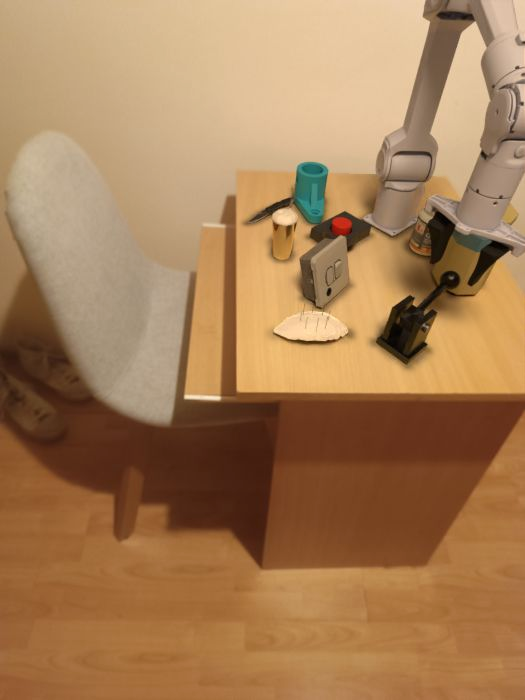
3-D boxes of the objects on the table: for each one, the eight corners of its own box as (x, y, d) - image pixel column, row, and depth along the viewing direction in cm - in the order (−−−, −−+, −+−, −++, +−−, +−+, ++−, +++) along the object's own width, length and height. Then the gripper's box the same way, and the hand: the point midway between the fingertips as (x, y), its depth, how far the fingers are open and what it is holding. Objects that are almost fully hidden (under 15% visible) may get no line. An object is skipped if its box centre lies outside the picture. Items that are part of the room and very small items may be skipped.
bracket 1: (320, 192, 103) (325, 161, 98) (331, 223, 95) (337, 191, 90) (291, 193, 102) (294, 161, 97) (299, 223, 95) (303, 191, 89)
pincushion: (274, 348, 72) (277, 321, 67) (272, 320, 76) (274, 293, 71) (351, 347, 72) (358, 321, 68) (344, 319, 76) (351, 293, 72)
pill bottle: (421, 260, 88) (438, 213, 81) (402, 243, 92) (417, 198, 84) (444, 252, 90) (462, 207, 83) (424, 237, 94) (440, 191, 86)
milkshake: (298, 249, 89) (304, 202, 81) (287, 265, 85) (293, 217, 78) (277, 243, 90) (280, 195, 83) (265, 257, 87) (268, 210, 79)
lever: (446, 275, 73) (449, 263, 70) (462, 285, 72) (466, 272, 69) (396, 324, 70) (397, 313, 68) (412, 335, 69) (414, 324, 66)
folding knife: (250, 223, 93) (243, 219, 94) (250, 228, 94) (243, 223, 95) (295, 198, 99) (289, 195, 100) (295, 203, 100) (288, 199, 101)
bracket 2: (394, 328, 76) (408, 291, 70) (425, 349, 73) (442, 313, 67) (375, 342, 73) (387, 306, 68) (406, 364, 70) (422, 328, 65)
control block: (343, 220, 97) (346, 202, 94) (376, 239, 92) (380, 221, 89) (305, 239, 91) (307, 221, 88) (338, 261, 87) (342, 243, 84)
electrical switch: (320, 311, 78) (324, 264, 71) (295, 299, 80) (296, 253, 74) (349, 284, 83) (355, 238, 76) (325, 274, 85) (328, 228, 79)
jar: (482, 304, 81) (521, 229, 70) (428, 291, 82) (459, 216, 71) (482, 273, 87) (519, 200, 76) (432, 261, 88) (461, 188, 77)
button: (339, 223, 89) (341, 215, 88) (353, 231, 87) (355, 223, 86) (326, 229, 87) (328, 221, 86) (341, 238, 86) (343, 230, 84)
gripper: (425, 174, 61) (398, 258, 71) (529, 223, 54) (483, 309, 64) (454, 159, 64) (424, 242, 74) (556, 203, 57) (508, 288, 67)
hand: (453, 272), depth 69 cm, fingers open, 6 cm apart
